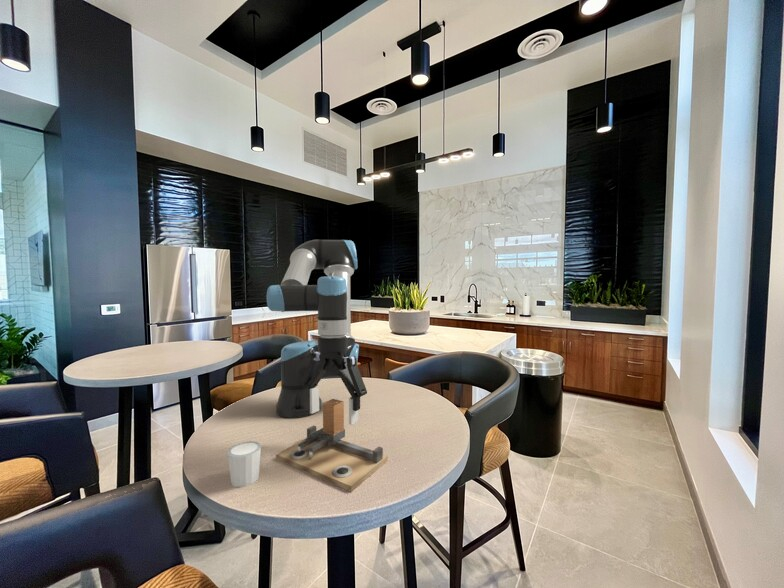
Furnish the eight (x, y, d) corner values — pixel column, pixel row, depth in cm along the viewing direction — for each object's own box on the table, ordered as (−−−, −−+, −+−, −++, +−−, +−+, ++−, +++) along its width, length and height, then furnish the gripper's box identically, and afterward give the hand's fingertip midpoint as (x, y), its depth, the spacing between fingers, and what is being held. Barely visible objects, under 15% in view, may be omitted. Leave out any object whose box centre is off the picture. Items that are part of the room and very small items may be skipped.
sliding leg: (303, 455, 77) (303, 411, 77) (333, 438, 86) (333, 398, 86) (315, 460, 75) (314, 415, 75) (345, 441, 84) (344, 401, 84)
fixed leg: (292, 451, 79) (292, 443, 79) (323, 434, 88) (322, 427, 88) (303, 455, 77) (303, 448, 77) (333, 438, 86) (333, 431, 86)
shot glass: (235, 471, 74) (235, 441, 74) (265, 469, 75) (265, 440, 74) (222, 490, 67) (221, 457, 67) (255, 488, 68) (255, 455, 67)
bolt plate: (276, 459, 79) (276, 443, 79) (317, 436, 91) (317, 422, 91) (351, 492, 66) (351, 473, 66) (387, 460, 78) (387, 444, 78)
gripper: (288, 334, 86) (289, 412, 86) (361, 341, 73) (362, 433, 73) (309, 331, 92) (310, 403, 93) (380, 337, 79) (381, 422, 79)
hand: (333, 417), depth 83 cm, fingers open, 13 cm apart
